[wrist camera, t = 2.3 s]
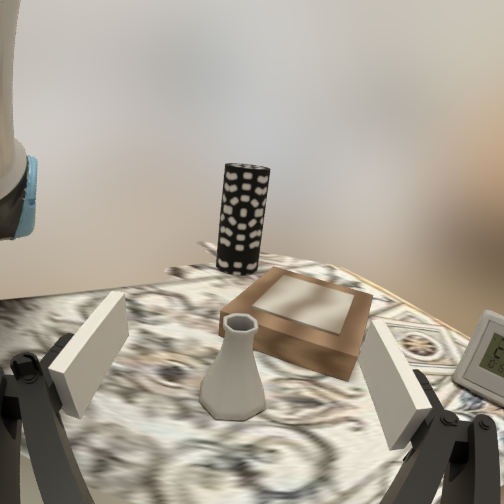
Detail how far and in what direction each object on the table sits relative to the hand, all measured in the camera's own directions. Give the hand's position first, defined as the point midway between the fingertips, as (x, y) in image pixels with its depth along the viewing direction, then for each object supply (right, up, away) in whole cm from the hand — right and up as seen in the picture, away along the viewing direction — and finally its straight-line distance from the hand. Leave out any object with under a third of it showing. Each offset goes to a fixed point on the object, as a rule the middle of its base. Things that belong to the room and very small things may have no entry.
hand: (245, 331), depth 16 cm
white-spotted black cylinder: (-3, +1, +48) cm, 48 cm away
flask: (-2, -12, +15) cm, 19 cm away
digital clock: (+35, -16, +15) cm, 41 cm away
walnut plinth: (+8, -7, +30) cm, 32 cm away
